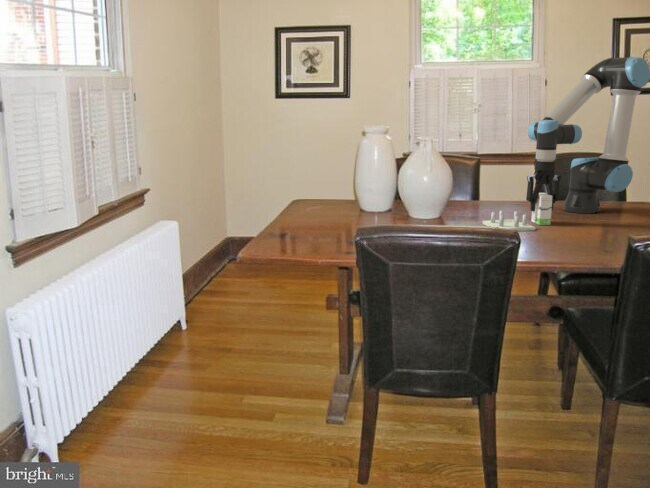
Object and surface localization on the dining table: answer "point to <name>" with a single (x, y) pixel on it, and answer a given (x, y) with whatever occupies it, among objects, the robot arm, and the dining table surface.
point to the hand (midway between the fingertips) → (541, 218)
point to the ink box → (543, 209)
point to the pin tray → (509, 222)
